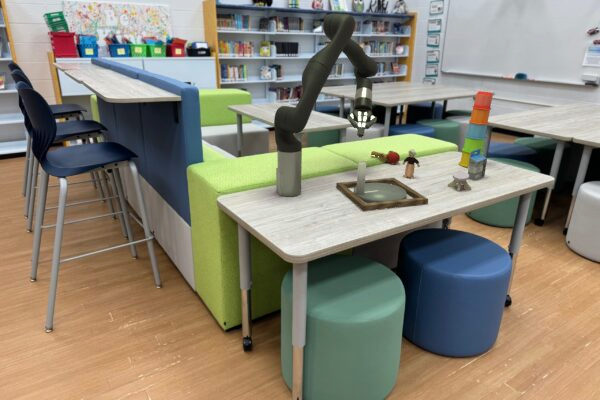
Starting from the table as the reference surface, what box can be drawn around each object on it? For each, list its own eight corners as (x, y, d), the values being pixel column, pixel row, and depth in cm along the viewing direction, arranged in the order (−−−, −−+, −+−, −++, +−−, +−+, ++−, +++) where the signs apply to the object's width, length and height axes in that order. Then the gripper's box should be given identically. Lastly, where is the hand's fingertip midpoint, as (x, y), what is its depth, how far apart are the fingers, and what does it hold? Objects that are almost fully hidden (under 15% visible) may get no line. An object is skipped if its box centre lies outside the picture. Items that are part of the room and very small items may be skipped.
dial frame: (363, 211, 150) (363, 205, 150) (336, 187, 174) (336, 182, 173) (427, 204, 158) (428, 198, 157) (393, 182, 181) (393, 177, 180)
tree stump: (451, 182, 181) (453, 169, 179) (473, 187, 176) (476, 173, 174) (444, 189, 174) (446, 175, 171) (467, 193, 169) (469, 179, 167)
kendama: (366, 160, 217) (390, 164, 202) (367, 148, 216) (392, 151, 201) (377, 161, 221) (402, 165, 206) (379, 148, 220) (404, 151, 205)
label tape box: (474, 181, 183) (479, 153, 179) (465, 178, 186) (470, 151, 182) (484, 177, 189) (489, 149, 184) (475, 174, 192) (480, 148, 187)
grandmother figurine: (399, 177, 187) (402, 149, 182) (401, 175, 190) (404, 147, 185) (417, 179, 184) (421, 151, 179) (419, 177, 187) (422, 149, 183)
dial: (400, 207, 153) (403, 171, 148) (347, 199, 161) (348, 164, 156) (410, 190, 170) (414, 157, 165) (362, 183, 178) (364, 151, 173)
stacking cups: (462, 161, 212) (473, 89, 200) (483, 164, 207) (496, 91, 194) (455, 166, 204) (466, 92, 192) (477, 169, 199) (490, 93, 186)
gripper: (348, 95, 182) (345, 130, 176) (379, 97, 181) (377, 133, 175) (347, 104, 189) (344, 139, 183) (377, 107, 188) (375, 142, 182)
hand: (360, 136), depth 179 cm, fingers closed
